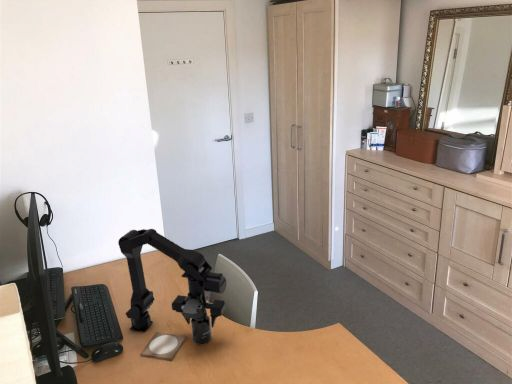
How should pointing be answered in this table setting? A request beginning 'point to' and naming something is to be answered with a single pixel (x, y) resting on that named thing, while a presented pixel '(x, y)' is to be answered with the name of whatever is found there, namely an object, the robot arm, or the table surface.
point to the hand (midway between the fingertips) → (201, 325)
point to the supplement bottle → (201, 329)
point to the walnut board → (163, 346)
